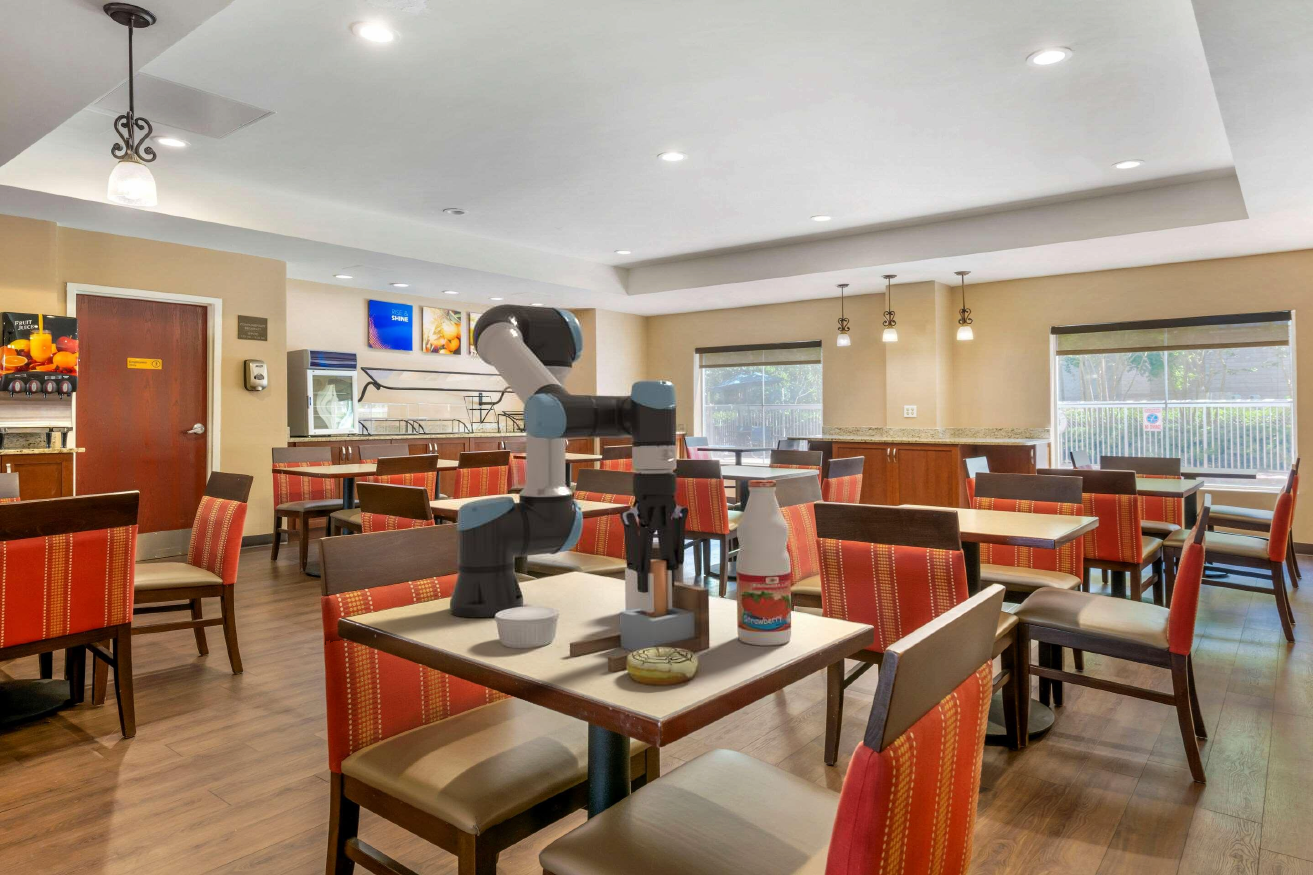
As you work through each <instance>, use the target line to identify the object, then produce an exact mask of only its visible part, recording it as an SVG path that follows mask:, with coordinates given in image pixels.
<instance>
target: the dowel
mask: <svg viewBox="0 0 1313 875" xmlns="http://www.w3.org/2000/svg"><path fill="white" fill-rule="evenodd" d="M649 573H654V612H652V613H649V612H646V616H648V617H652V618H658V617H663V616H667V581H666V561H665V560H651V563H650V571H649Z"/></svg>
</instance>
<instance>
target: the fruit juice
mask: <svg viewBox="0 0 1313 875" xmlns="http://www.w3.org/2000/svg"><path fill="white" fill-rule="evenodd" d="M747 488H748V491H749V496H748V499H747V502H746V505H745V508H744V510H743V514H742V516H741V518H740V520H739V521H738V523H737V526H736V536H737V540H738V543H739V549H738V550H739V551H738V552H737V555H736V567H735V568H736V616H737V617H736V619H737V620H736V623H737V625H736V626H737V629H736V630H737V632H736V633H737V638H738V640H740V641H741V642H742V643H745V644H747V645H752V646H753V645H755V646H763V647H765V646H779V645H783V644H787V643H788V642H790V641H791V638H792V602H791V601H792V600H791V599H792V596H791V594H792V591H791V589H792V588H791V587H792V586H791V585H792V584H791V583H792V582H791V580H792V579H791V571H792V570H791V559H790V554H789V552H788V549H787V545H788V541H789V537H790V530H789V529H790V528H789V524H788V522H787V520H786V519H785V517H784V515H783V513H782V510H781V508H780V505H779V502H778V498H777V497H776V491H777V481H776V480H775V479H774V480H773V479H752V480H748V482H747Z"/></svg>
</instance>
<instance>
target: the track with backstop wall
mask: <svg viewBox="0 0 1313 875" xmlns="http://www.w3.org/2000/svg"><path fill="white" fill-rule="evenodd" d="M709 596H710V589H709V588H705V587H701V586H696V585H693V584H692V585H691V584H688V583H684V582H683V583H678V582H674V588H672V607H674V608H678V609H682V610H686V611H690V612H694V616H695V637H693V638H689V639H685V640H680V641H676V642H672V643H667V644H663V645H659V646H655V647H670V648H680V649H685V650H688V651H690V652H692V653H694V652H695V653H696V652H698V651H699V652H700V651H703V650H707V649H710V647H711V646H710V645H711V644H710V597H709ZM618 647H621V631H620V632H617V633H612V634H606V635H601V636H597V637H596V636H595V637H592V638H587V639H583V640H578V641H573V642H569V656H570V657H575V658H576V657H579V656H583V655H587V654H592V653H596V652H601V651H605V650H610V649H614V648H618ZM650 648H652V647H650ZM633 652H635V651H630V652H624V653H622V654H616V655H612V656H608V658H607V663H608V666H607V667H608V668H607V669H608V671H609V672H611V673H615V672H619V671H623V670H627V667H626V666H627V664H626V661H627V657H628V655H629V654H631V653H633Z"/></svg>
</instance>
